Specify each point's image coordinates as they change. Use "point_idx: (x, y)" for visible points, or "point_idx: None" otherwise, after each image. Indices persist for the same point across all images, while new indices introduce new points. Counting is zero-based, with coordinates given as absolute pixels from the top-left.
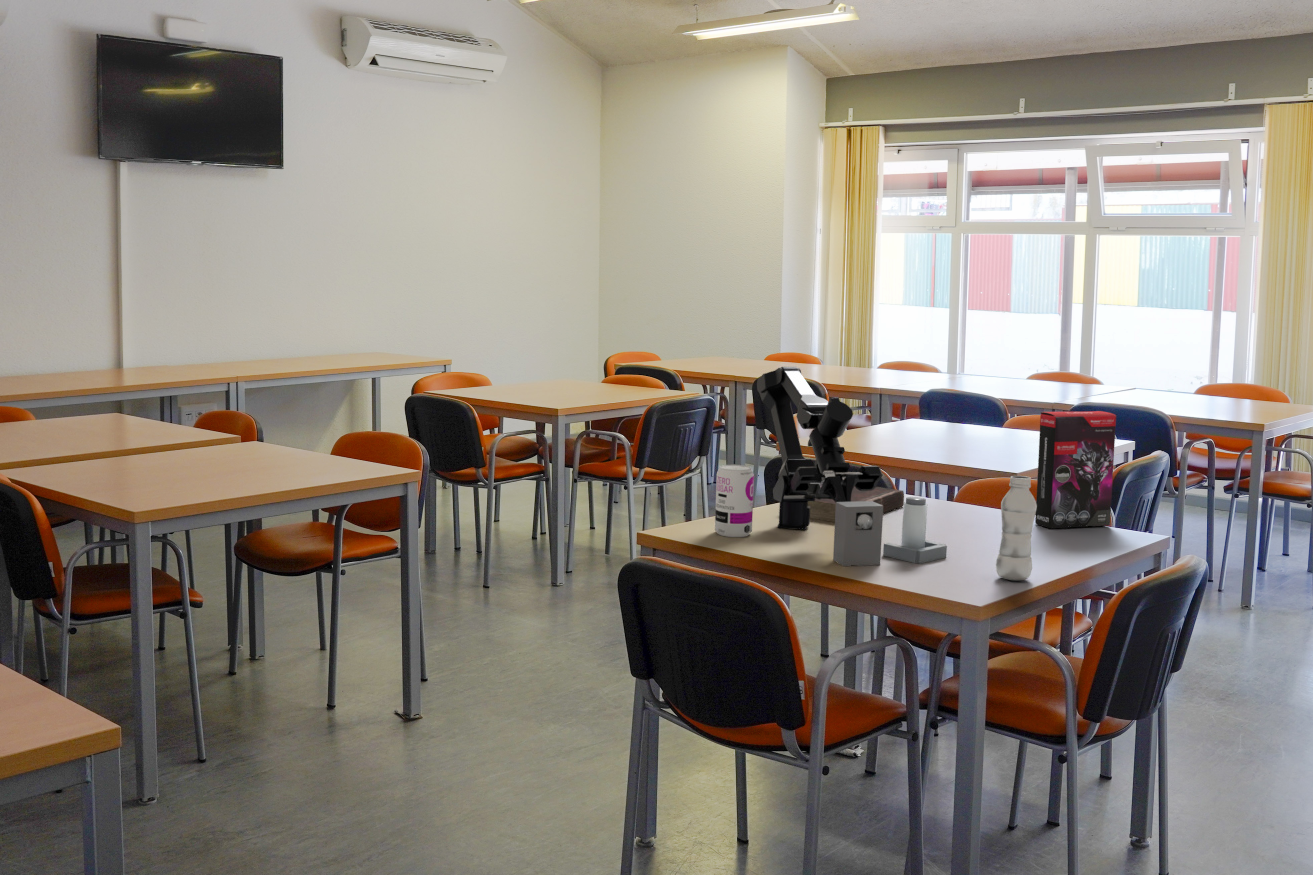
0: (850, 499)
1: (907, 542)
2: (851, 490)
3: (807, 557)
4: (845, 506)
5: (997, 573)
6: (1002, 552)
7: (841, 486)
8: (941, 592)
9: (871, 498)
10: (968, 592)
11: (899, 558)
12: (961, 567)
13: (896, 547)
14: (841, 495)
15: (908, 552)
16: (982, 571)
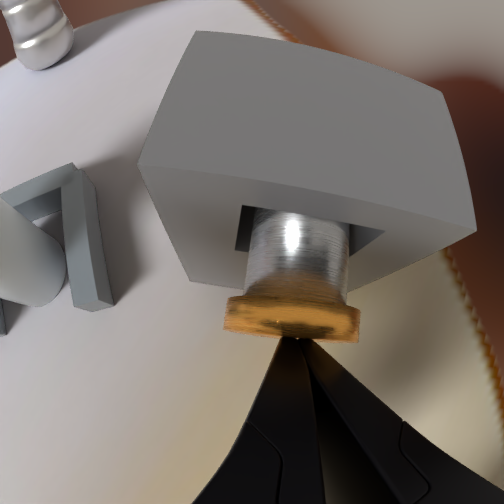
0: (267, 384)
1: (41, 240)
2: (237, 459)
3: (384, 356)
4: (444, 100)
5: (64, 53)
6: (58, 15)
7: (412, 498)
8: (231, 23)
9: None
10: (186, 17)
11: (100, 238)
12: (39, 132)
13: (89, 241)
14: (383, 412)
15: (86, 196)
16: (37, 101)
